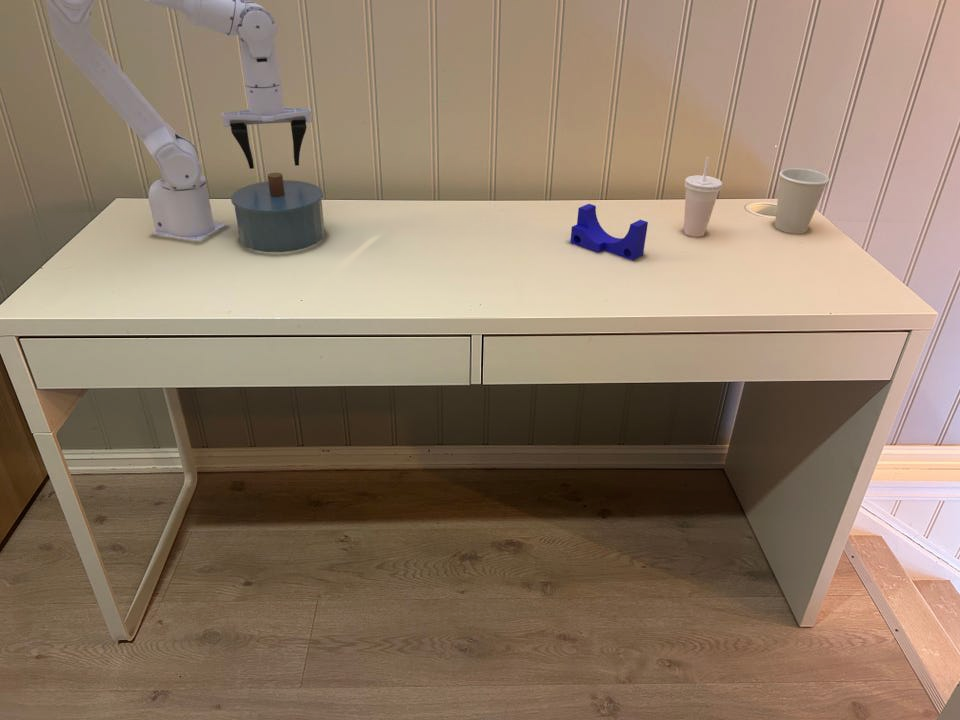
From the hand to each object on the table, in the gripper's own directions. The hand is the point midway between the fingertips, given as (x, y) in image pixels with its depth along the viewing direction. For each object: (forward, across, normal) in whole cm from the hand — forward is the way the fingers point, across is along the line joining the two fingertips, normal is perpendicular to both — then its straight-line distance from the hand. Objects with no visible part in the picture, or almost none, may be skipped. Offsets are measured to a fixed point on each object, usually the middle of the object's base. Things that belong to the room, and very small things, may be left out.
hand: (274, 165), depth 128 cm
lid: (+3, 0, -8) cm, 9 cm away
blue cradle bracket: (+11, +53, -25) cm, 60 cm away
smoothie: (+11, +72, -22) cm, 76 cm away
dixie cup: (+11, +91, -23) cm, 95 cm away
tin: (+10, 0, -8) cm, 13 cm away
